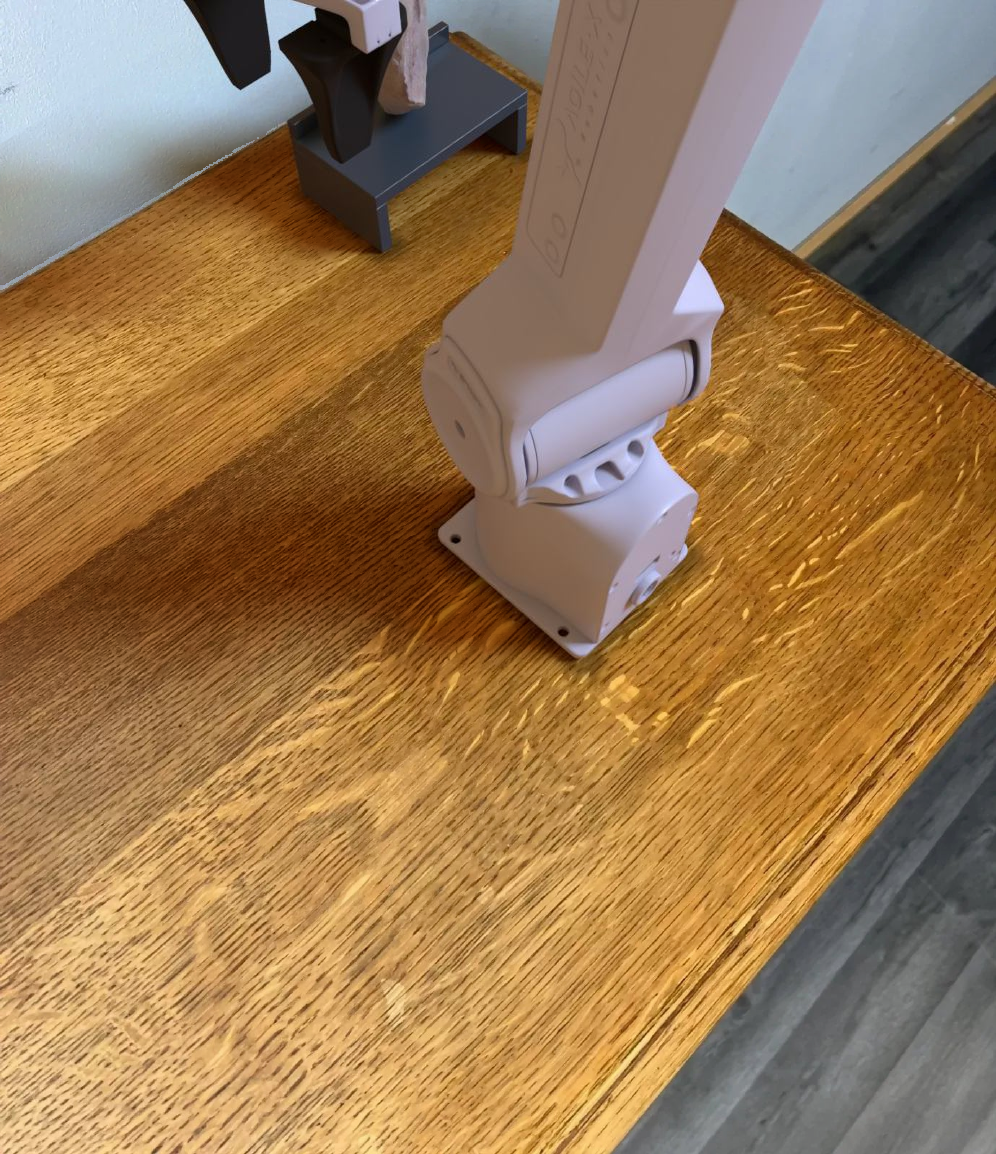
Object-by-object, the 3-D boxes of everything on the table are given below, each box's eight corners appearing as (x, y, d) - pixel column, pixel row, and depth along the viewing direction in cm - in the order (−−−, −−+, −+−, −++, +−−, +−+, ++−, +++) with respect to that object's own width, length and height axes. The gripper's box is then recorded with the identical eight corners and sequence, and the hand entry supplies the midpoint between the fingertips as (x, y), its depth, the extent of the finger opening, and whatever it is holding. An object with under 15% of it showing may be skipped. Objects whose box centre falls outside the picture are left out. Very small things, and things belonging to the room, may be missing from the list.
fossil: (419, 155, 55) (404, -24, 47) (359, 144, 56) (332, -35, 47) (446, 86, 58) (437, -96, 49) (388, 77, 58) (368, -106, 49)
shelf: (526, 148, 61) (528, 75, 57) (382, 253, 57) (372, 183, 53) (445, 95, 64) (441, 19, 59) (302, 192, 60) (286, 120, 55)
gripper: (39, -228, 39) (147, 84, 51) (280, -73, 34) (337, 229, 47) (184, -292, 41) (255, 21, 53) (428, -155, 37) (445, 153, 49)
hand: (300, 113), depth 50 cm, fingers open, 7 cm apart
